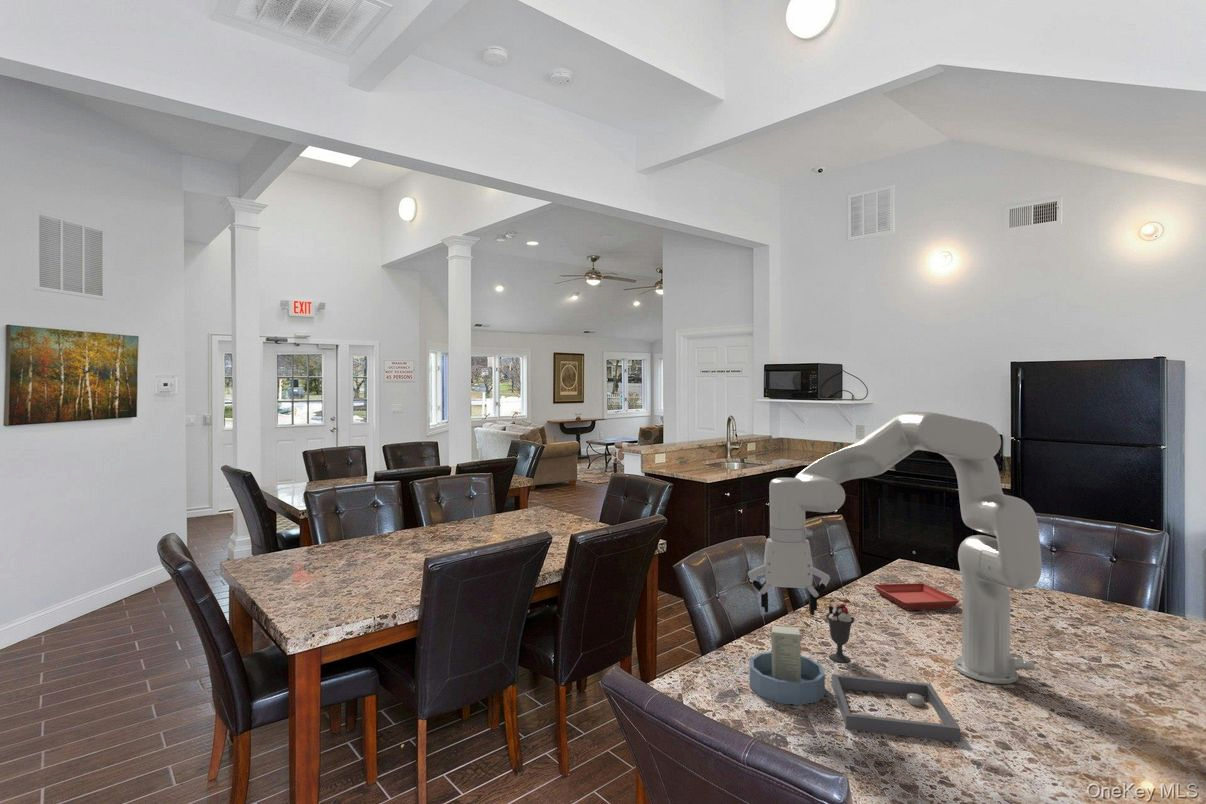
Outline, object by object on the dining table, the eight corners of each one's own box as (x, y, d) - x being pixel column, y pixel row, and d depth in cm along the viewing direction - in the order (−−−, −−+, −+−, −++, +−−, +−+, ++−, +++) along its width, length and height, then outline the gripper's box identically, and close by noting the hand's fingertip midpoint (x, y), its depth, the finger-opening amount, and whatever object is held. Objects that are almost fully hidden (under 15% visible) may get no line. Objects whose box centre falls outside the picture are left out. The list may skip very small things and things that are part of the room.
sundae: (857, 665, 144) (857, 603, 144) (827, 663, 146) (828, 601, 146) (851, 654, 151) (852, 594, 151) (823, 651, 152) (823, 592, 152)
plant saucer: (871, 593, 199) (871, 583, 199) (923, 592, 201) (923, 582, 201) (905, 613, 181) (905, 602, 181) (961, 611, 183) (961, 600, 183)
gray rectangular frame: (930, 695, 130) (930, 683, 130) (960, 742, 113) (960, 728, 113) (831, 685, 134) (831, 674, 134) (846, 728, 117) (846, 715, 117)
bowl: (818, 674, 140) (818, 655, 140) (828, 708, 124) (828, 686, 124) (749, 667, 143) (749, 648, 143) (750, 700, 128) (750, 678, 128)
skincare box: (800, 681, 135) (801, 627, 135) (801, 690, 131) (801, 634, 131) (771, 677, 137) (771, 624, 137) (770, 686, 132) (771, 631, 132)
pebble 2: (921, 700, 128) (922, 694, 128) (925, 708, 125) (925, 701, 125) (905, 698, 129) (905, 692, 129) (908, 706, 126) (908, 699, 126)
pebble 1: (871, 719, 121) (871, 712, 121) (875, 728, 118) (875, 721, 118) (854, 717, 121) (854, 710, 121) (857, 726, 118) (857, 719, 118)
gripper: (826, 531, 135) (827, 608, 135) (747, 529, 139) (748, 603, 139) (831, 539, 128) (832, 620, 128) (747, 537, 132) (748, 615, 132)
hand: (788, 611), depth 134 cm, fingers open, 9 cm apart
